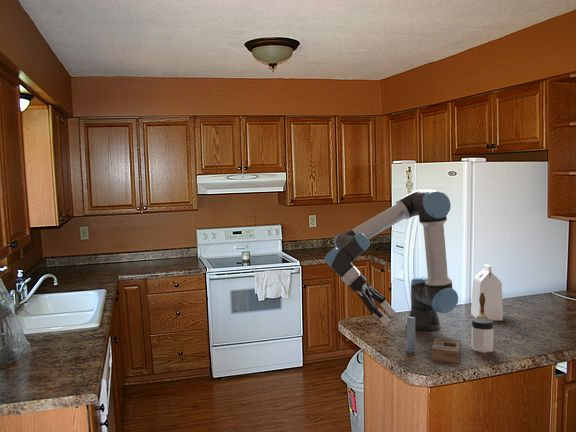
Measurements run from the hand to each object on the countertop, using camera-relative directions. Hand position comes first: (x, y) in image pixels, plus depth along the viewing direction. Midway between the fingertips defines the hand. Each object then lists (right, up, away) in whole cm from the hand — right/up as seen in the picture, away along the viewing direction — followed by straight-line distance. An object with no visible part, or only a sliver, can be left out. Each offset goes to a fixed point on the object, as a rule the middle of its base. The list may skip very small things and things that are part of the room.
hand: (390, 318), depth 213 cm
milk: (+57, -9, +48) cm, 75 cm away
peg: (+8, -13, -1) cm, 15 cm away
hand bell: (+49, -10, +31) cm, 59 cm away
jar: (+37, -13, +1) cm, 40 cm away
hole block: (+21, -13, -6) cm, 25 cm away
